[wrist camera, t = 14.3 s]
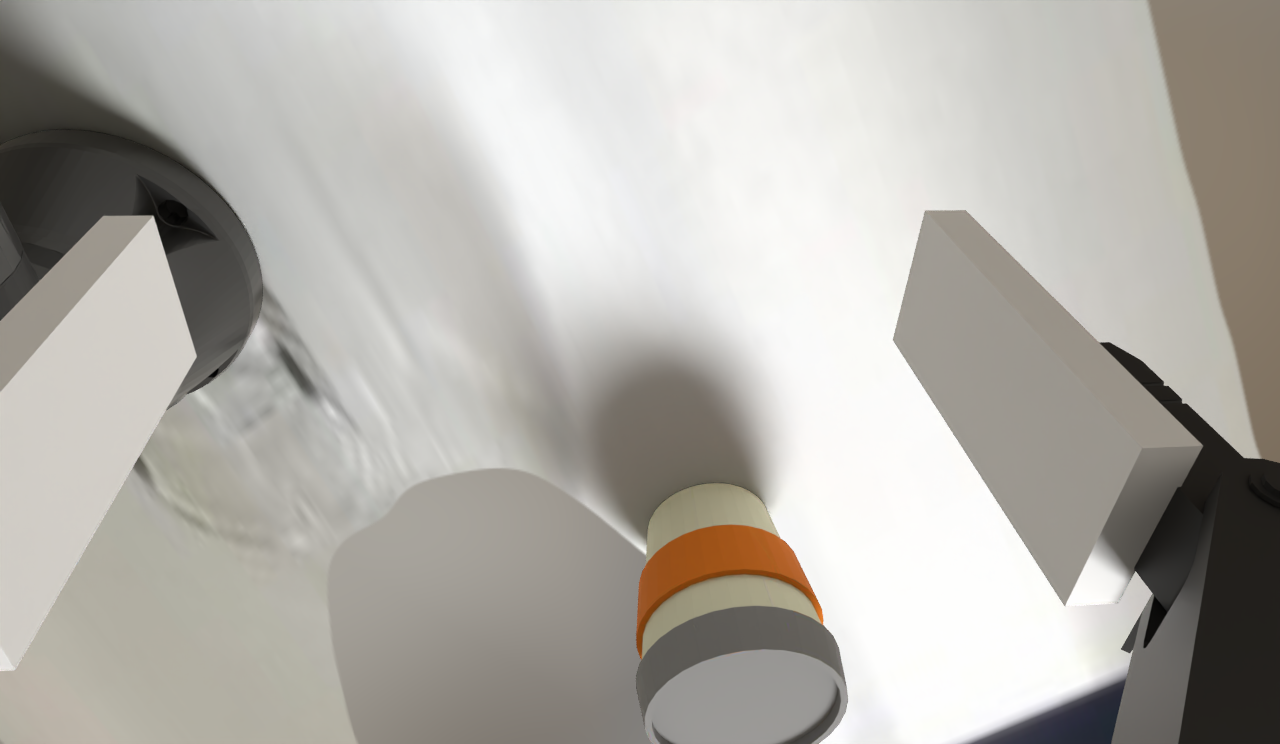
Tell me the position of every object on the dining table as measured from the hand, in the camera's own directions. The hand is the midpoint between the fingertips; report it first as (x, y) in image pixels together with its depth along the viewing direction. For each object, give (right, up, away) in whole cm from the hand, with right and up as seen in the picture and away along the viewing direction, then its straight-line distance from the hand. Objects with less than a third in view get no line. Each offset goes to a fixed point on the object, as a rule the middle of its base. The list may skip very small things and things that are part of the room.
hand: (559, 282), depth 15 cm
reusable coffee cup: (+6, -13, +47) cm, 49 cm away
